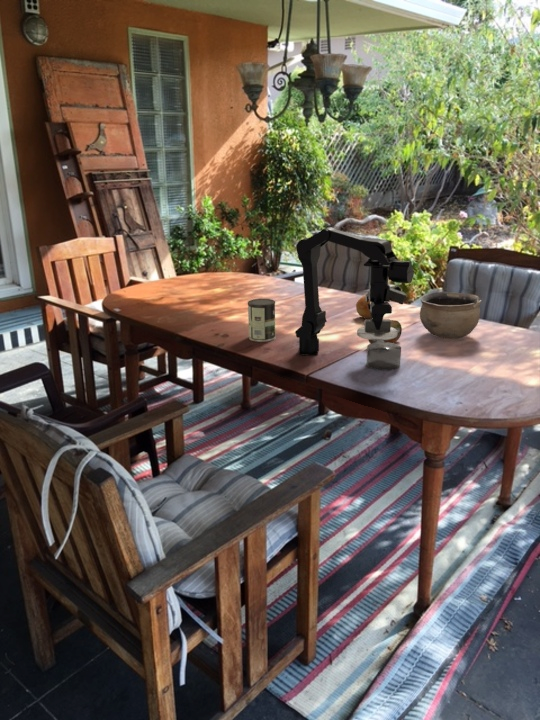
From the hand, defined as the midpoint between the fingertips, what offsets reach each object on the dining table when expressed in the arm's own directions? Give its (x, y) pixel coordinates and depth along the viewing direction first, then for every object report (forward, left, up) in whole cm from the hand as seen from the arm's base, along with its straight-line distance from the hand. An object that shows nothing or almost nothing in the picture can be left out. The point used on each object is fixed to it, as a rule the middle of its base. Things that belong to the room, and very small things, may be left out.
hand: (377, 328), depth 195 cm
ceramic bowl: (+31, +32, -13) cm, 46 cm away
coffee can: (-39, +30, -13) cm, 51 cm away
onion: (+4, +58, -13) cm, 59 cm away
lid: (0, 0, -2) cm, 2 cm away
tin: (+6, +23, -13) cm, 27 cm away
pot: (+3, +3, -13) cm, 13 cm away
